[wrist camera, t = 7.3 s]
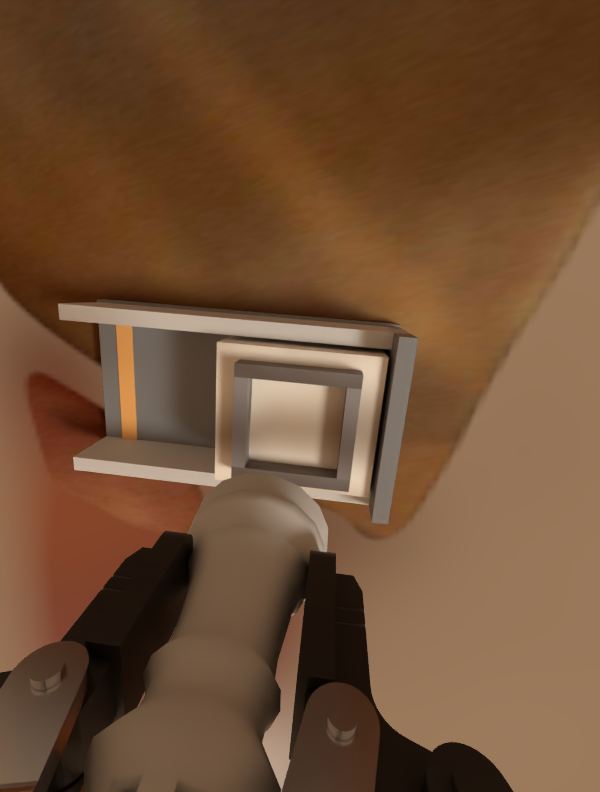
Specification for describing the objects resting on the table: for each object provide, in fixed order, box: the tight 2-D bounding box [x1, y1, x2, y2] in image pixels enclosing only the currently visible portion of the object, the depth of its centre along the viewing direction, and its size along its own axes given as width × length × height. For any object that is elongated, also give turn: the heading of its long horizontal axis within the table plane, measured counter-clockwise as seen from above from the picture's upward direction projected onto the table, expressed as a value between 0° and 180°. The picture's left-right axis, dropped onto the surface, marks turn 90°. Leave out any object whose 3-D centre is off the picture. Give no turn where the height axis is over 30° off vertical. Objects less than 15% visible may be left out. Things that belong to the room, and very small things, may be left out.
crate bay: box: [58, 299, 418, 524], centre depth 26 cm, size 12×22×7 cm, turn 86°
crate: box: [215, 335, 389, 498], centre depth 25 cm, size 9×10×6 cm
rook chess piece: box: [83, 473, 328, 792], centre depth 9 cm, size 4×4×8 cm
